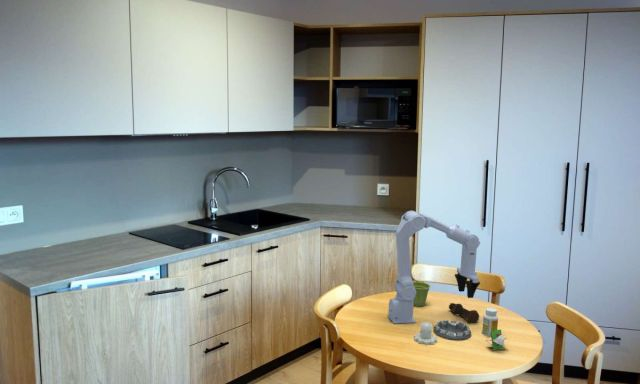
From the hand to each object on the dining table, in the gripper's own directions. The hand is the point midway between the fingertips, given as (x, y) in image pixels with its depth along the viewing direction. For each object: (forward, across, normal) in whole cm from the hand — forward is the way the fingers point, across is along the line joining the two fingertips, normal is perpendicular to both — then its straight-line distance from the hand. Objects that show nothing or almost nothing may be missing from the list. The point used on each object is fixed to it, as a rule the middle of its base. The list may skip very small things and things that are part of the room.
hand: (465, 294), depth 217 cm
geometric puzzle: (+10, -28, +2) cm, 30 cm away
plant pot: (+10, +18, +13) cm, 24 cm away
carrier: (+10, -14, +12) cm, 21 cm away
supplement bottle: (+10, -16, -2) cm, 20 cm away
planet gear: (+10, -18, +25) cm, 33 cm away
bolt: (+10, +1, 0) cm, 10 cm away
